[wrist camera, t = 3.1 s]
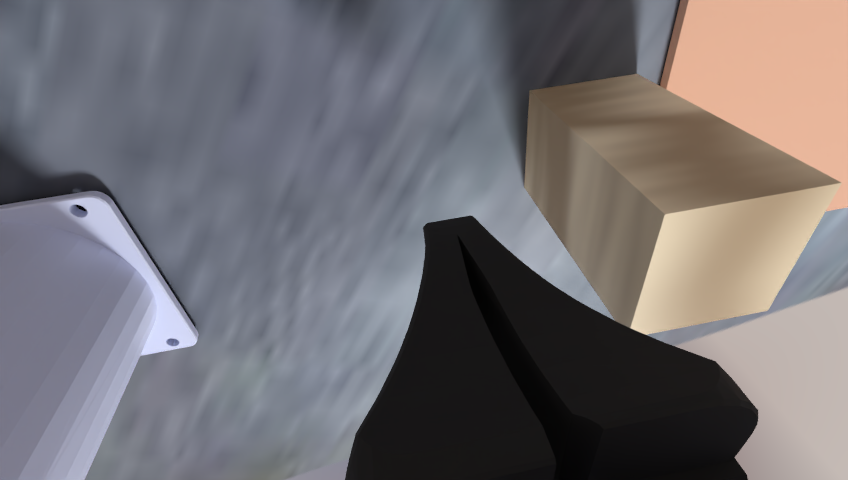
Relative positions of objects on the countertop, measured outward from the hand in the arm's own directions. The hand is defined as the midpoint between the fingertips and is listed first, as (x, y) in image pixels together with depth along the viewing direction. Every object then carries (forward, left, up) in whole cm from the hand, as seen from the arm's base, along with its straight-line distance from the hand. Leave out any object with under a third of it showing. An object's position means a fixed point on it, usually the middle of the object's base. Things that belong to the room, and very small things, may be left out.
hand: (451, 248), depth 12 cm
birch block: (+6, 0, -6) cm, 8 cm away
